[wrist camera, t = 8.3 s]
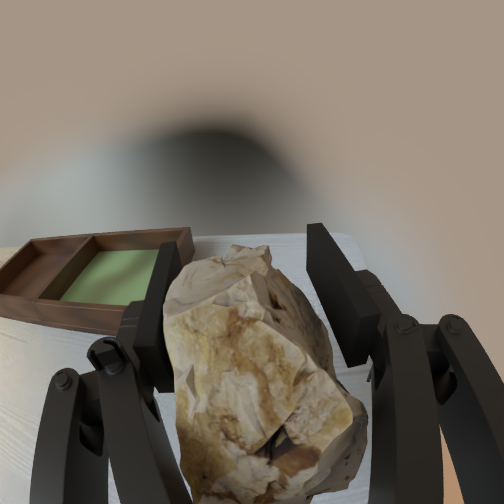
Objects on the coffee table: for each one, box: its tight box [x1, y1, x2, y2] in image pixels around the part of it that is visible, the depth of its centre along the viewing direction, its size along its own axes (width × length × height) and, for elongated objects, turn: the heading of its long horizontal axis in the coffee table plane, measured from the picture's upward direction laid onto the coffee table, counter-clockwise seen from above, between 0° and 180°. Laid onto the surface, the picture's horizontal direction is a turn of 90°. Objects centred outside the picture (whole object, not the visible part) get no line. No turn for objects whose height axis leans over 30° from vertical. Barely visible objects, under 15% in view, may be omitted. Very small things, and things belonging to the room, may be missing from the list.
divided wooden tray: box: [0, 227, 195, 336], centre depth 34 cm, size 32×17×4 cm, turn 86°
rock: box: [163, 244, 368, 504], centre depth 11 cm, size 12×7×10 cm, turn 0°
